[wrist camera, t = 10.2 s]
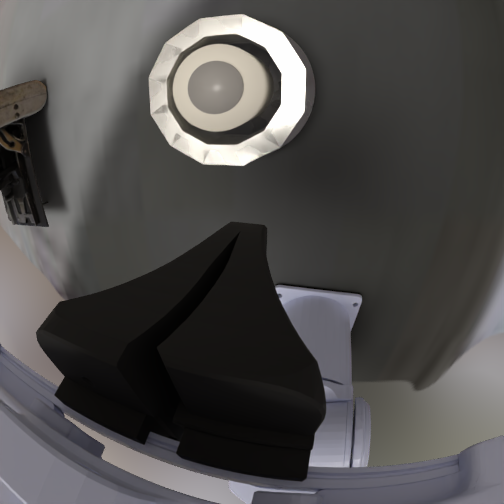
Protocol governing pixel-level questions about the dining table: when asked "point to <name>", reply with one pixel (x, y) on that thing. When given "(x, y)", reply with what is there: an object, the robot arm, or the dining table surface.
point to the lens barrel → (255, 130)
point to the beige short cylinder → (222, 87)
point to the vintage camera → (20, 154)
